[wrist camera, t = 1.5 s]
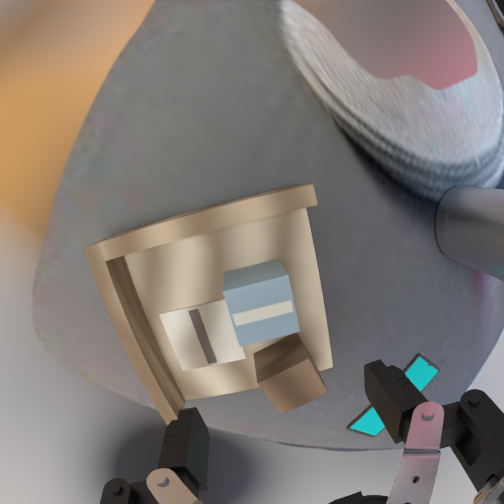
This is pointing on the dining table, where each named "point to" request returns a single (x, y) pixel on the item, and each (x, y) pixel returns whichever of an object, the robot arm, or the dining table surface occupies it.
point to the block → (260, 302)
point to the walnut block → (288, 374)
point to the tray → (206, 292)
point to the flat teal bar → (419, 375)
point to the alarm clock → (498, 10)
